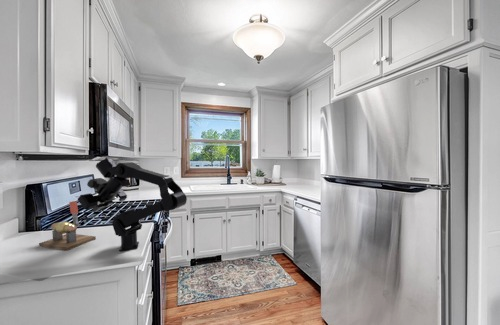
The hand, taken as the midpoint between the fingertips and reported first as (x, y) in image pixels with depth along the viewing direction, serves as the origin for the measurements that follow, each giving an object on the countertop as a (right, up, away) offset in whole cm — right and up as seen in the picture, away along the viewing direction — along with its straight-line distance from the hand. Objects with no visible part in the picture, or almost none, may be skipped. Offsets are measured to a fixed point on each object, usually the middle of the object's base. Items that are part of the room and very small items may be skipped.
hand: (94, 210), depth 97 cm
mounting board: (-12, -14, +1) cm, 18 cm away
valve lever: (-11, -8, +4) cm, 13 cm away
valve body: (-12, -13, 0) cm, 17 cm away
